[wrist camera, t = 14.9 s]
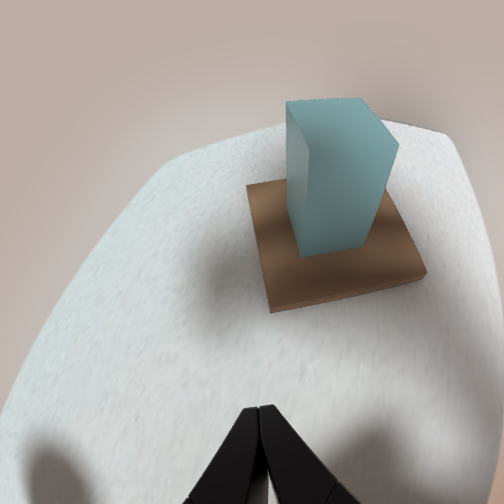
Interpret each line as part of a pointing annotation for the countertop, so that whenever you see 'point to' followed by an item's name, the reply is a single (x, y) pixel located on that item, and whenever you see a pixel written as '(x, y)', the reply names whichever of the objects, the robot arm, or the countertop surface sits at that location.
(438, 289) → the countertop surface
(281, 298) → the post board
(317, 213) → the teal rectangular prism
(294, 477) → the robot arm
